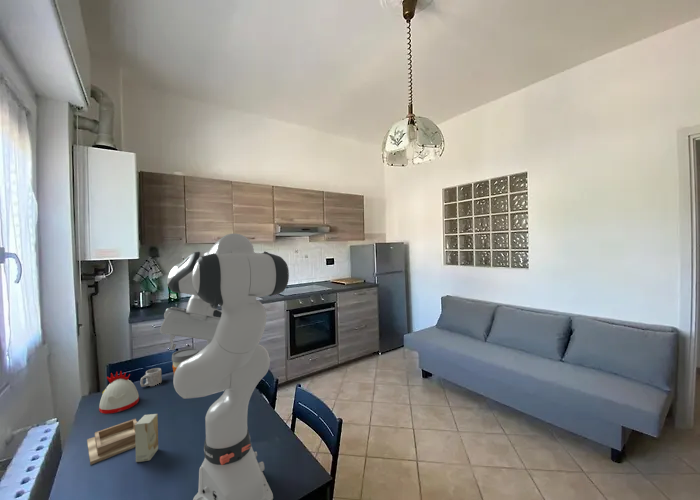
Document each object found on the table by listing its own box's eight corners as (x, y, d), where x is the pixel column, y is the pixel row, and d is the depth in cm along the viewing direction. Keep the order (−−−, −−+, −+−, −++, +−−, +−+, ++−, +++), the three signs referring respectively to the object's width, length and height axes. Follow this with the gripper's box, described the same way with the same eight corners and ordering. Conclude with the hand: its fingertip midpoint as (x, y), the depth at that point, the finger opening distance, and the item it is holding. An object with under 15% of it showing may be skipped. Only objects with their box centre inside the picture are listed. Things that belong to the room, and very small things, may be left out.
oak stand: (149, 441, 107) (149, 431, 107) (90, 464, 96) (89, 454, 95) (141, 423, 118) (140, 414, 118) (87, 442, 107) (86, 432, 107)
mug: (155, 379, 158) (155, 367, 157) (164, 381, 155) (164, 368, 155) (136, 388, 148) (135, 375, 148) (145, 390, 146) (145, 376, 146)
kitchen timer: (103, 402, 135) (102, 369, 135) (140, 394, 142) (139, 363, 142) (95, 417, 123) (94, 381, 123) (136, 407, 130) (135, 373, 130)
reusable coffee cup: (169, 381, 155) (168, 352, 155) (196, 373, 164) (195, 346, 164) (175, 389, 146) (174, 358, 146) (203, 381, 155) (202, 352, 154)
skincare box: (150, 461, 97) (148, 423, 97) (135, 463, 96) (134, 425, 96) (159, 448, 103) (158, 412, 103) (145, 449, 102) (144, 414, 102)
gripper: (167, 303, 100) (152, 346, 94) (230, 314, 109) (220, 354, 103) (167, 307, 105) (153, 348, 99) (227, 317, 114) (217, 355, 108)
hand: (187, 351), depth 101 cm, fingers open, 8 cm apart
